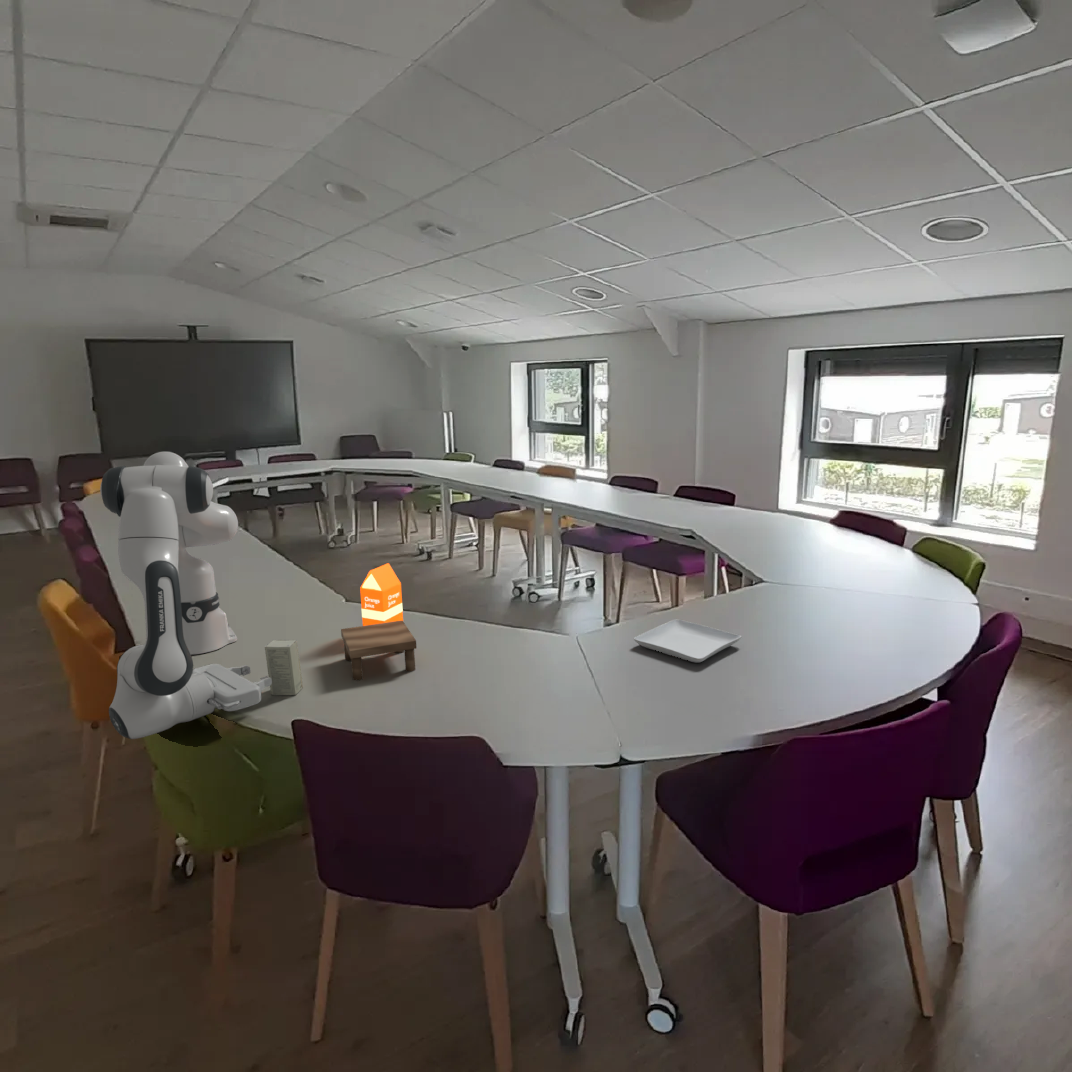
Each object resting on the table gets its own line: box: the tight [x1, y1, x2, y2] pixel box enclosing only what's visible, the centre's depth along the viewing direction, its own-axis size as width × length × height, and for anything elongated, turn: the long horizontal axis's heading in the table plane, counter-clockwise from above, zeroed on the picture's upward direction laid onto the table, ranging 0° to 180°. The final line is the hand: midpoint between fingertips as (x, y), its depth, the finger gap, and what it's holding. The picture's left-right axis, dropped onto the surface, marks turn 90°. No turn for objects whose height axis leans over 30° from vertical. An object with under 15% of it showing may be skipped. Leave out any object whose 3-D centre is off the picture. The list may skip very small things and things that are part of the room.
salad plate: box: [633, 618, 742, 664], centre depth 189 cm, size 21×21×3 cm
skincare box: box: [264, 639, 303, 696], centre depth 164 cm, size 6×4×12 cm
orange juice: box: [359, 562, 404, 626], centre depth 199 cm, size 8×9×20 cm
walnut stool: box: [340, 620, 417, 682], centre depth 179 cm, size 16×16×8 cm
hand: (259, 674), depth 160 cm, fingers open, 8 cm apart
